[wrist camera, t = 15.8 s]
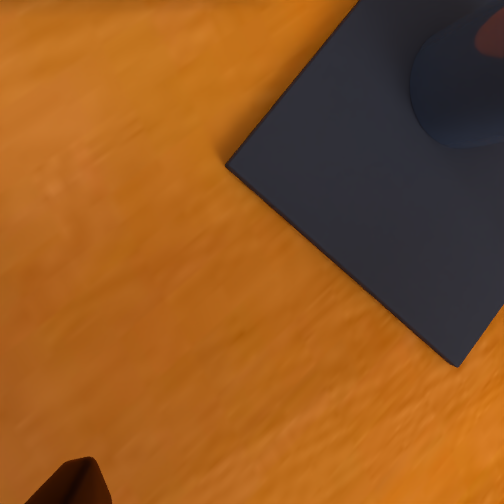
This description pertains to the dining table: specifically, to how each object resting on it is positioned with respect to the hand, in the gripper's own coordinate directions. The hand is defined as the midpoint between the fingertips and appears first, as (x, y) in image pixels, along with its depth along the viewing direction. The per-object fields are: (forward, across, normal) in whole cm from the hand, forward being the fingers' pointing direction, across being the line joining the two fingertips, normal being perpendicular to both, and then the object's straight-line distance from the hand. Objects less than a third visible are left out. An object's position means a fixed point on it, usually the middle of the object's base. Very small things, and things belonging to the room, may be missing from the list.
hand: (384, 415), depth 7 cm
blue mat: (+16, -9, -1) cm, 18 cm away
